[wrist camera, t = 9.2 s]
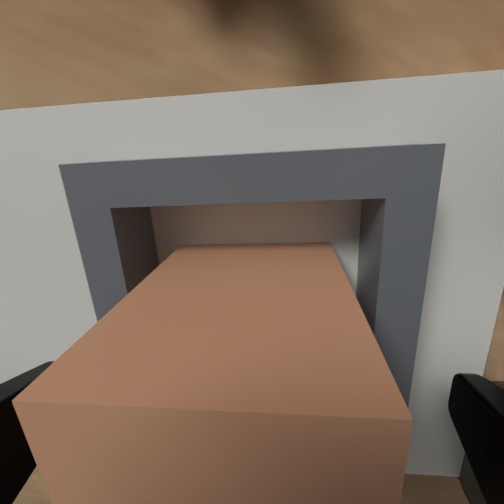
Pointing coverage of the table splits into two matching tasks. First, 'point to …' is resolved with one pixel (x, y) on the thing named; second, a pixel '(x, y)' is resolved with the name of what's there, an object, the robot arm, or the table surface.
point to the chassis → (271, 216)
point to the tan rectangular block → (224, 389)
